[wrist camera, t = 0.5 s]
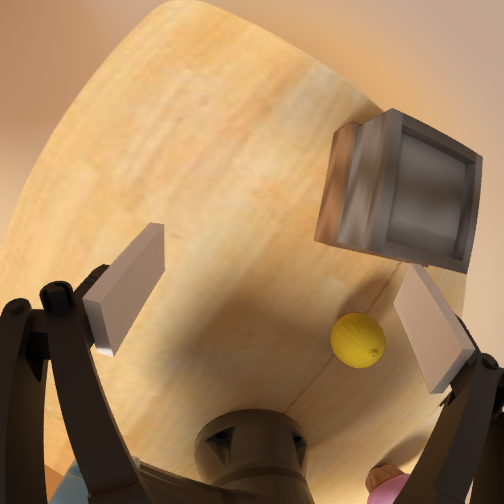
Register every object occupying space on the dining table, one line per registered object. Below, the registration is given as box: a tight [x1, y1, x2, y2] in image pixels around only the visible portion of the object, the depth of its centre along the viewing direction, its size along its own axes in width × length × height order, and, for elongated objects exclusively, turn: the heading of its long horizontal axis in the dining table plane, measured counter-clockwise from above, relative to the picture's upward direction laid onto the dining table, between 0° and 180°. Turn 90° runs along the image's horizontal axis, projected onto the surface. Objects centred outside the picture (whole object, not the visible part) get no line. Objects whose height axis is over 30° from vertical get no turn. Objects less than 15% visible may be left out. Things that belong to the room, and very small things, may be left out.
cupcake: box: [365, 464, 410, 504], centre depth 34 cm, size 9×9×10 cm
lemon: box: [330, 313, 386, 368], centre depth 29 cm, size 6×6×8 cm
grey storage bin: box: [314, 108, 483, 274], centre depth 26 cm, size 12×12×12 cm
